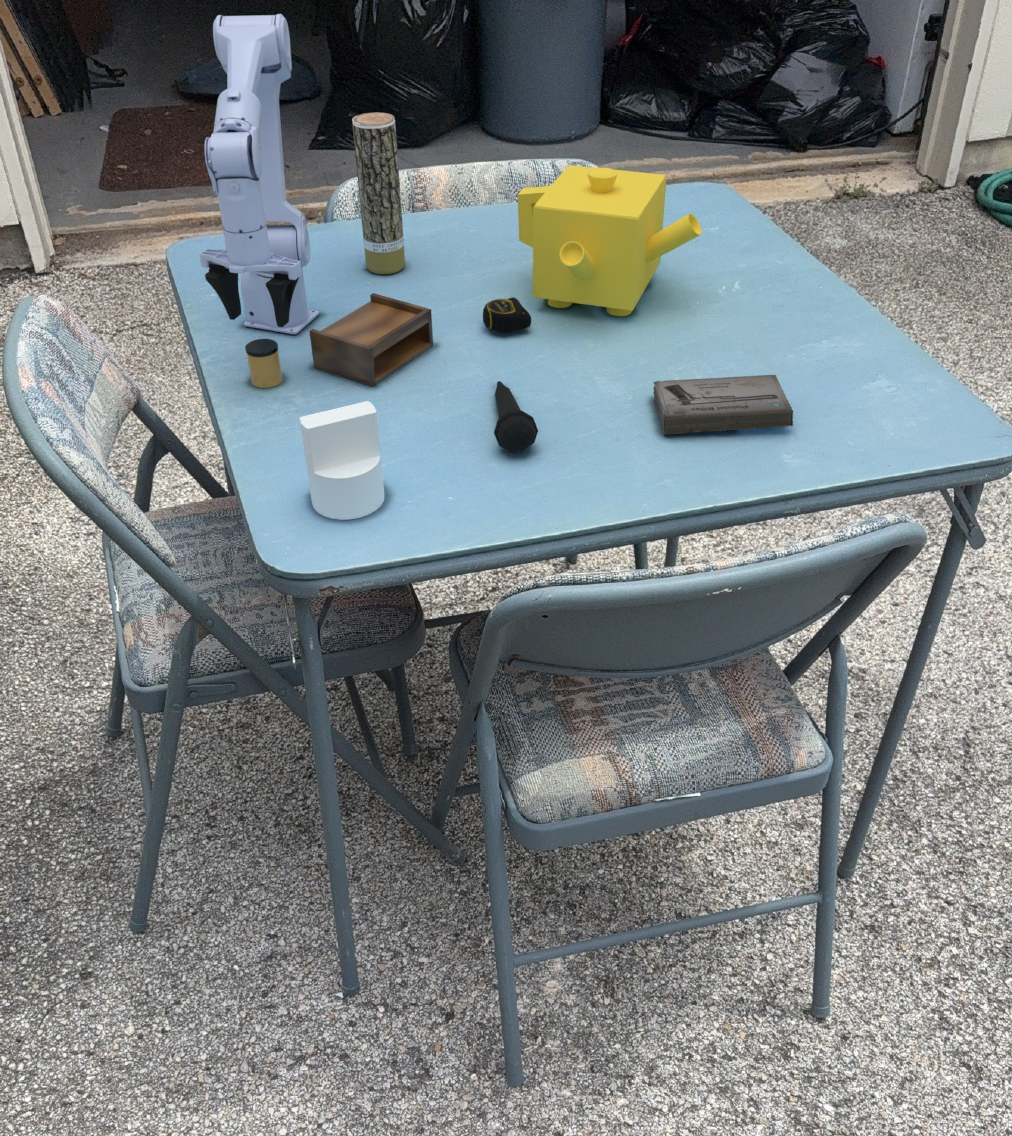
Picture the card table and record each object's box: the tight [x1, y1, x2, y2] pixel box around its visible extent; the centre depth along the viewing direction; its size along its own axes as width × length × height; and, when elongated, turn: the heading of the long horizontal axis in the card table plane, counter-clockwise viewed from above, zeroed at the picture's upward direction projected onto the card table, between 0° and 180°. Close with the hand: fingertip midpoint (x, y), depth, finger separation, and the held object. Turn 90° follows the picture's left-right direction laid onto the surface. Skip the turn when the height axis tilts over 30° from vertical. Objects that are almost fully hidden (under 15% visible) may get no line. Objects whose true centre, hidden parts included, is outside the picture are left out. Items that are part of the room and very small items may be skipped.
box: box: [652, 374, 794, 436], centre depth 154 cm, size 11×17×3 cm, turn 92°
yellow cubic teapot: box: [517, 164, 703, 317], centre depth 180 cm, size 35×29×20 cm
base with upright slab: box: [299, 400, 385, 521], centre depth 137 cm, size 9×9×12 cm
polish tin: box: [244, 338, 283, 389], centre depth 163 cm, size 5×5×6 cm
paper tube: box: [351, 112, 406, 275], centre depth 188 cm, size 7×7×25 cm
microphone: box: [493, 380, 539, 453], centre depth 154 cm, size 6×6×20 cm
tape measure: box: [482, 296, 532, 334], centre depth 176 cm, size 7×7×4 cm
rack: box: [308, 292, 434, 388], centre depth 169 cm, size 11×15×6 cm
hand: (259, 320), depth 159 cm, fingers open, 7 cm apart
